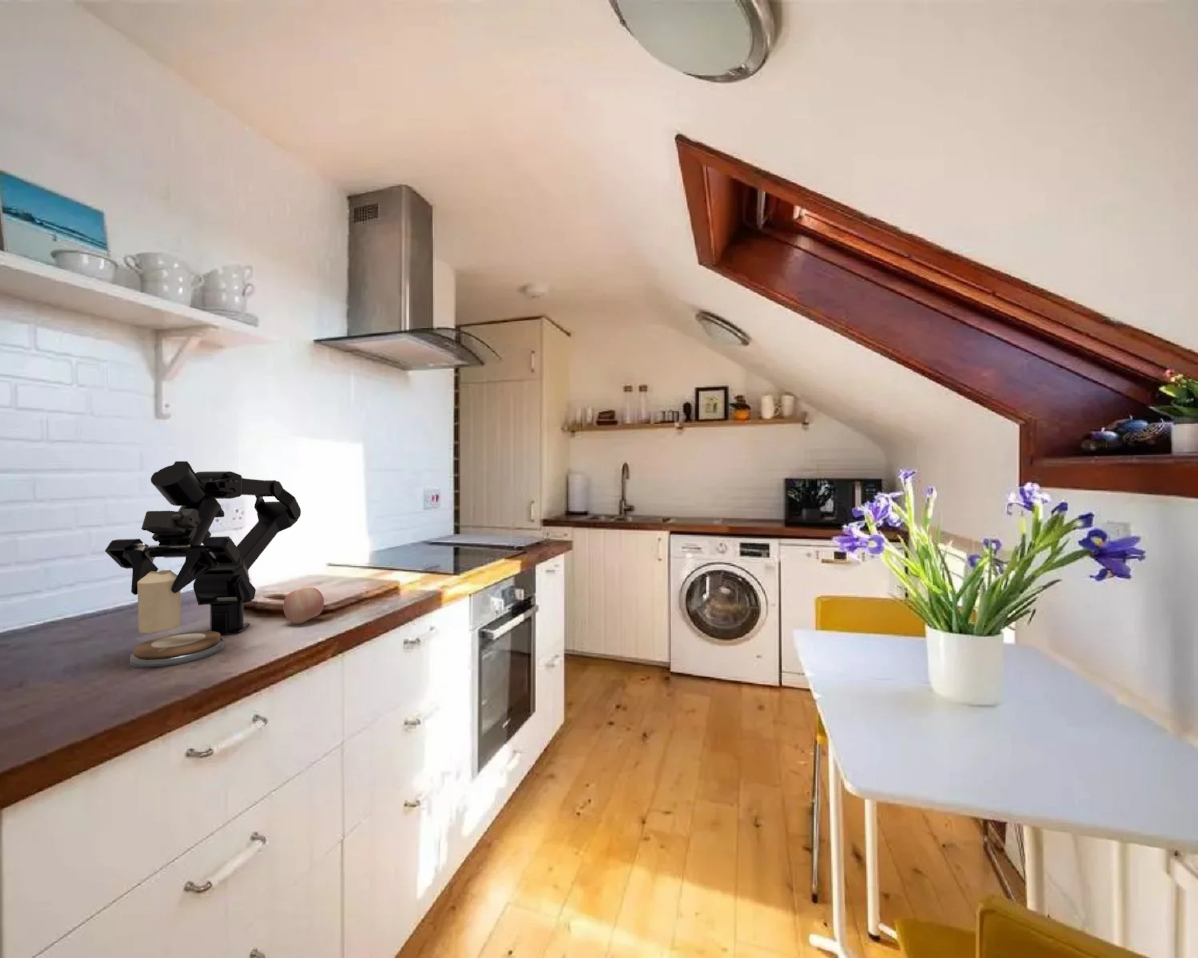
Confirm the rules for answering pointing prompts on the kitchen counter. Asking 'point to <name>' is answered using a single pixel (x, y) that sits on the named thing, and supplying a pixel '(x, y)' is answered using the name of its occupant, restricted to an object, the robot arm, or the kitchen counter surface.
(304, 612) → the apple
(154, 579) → the candle
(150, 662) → the turntable base
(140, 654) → the turntable
